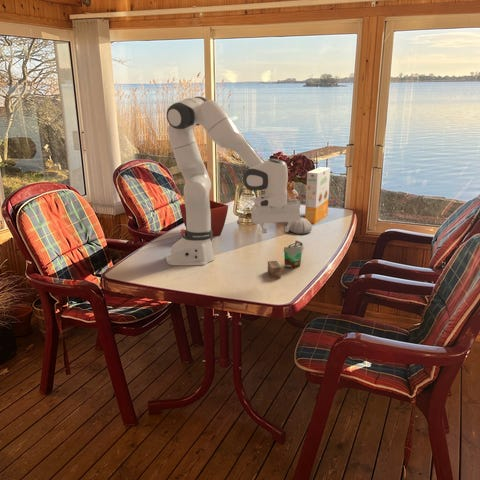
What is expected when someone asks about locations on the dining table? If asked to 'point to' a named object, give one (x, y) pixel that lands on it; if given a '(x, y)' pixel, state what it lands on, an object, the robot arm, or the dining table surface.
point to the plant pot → (212, 216)
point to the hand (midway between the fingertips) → (275, 232)
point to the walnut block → (274, 269)
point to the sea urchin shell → (301, 226)
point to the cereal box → (317, 194)
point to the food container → (293, 255)
